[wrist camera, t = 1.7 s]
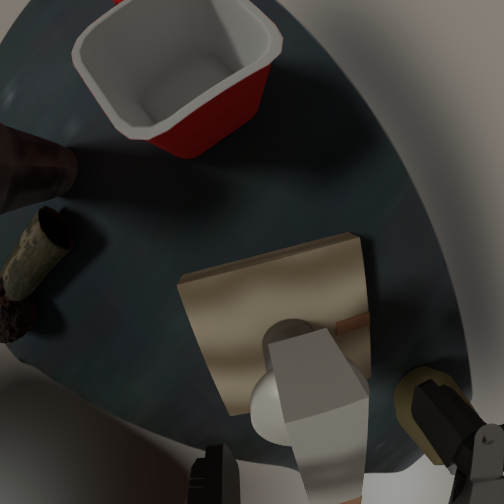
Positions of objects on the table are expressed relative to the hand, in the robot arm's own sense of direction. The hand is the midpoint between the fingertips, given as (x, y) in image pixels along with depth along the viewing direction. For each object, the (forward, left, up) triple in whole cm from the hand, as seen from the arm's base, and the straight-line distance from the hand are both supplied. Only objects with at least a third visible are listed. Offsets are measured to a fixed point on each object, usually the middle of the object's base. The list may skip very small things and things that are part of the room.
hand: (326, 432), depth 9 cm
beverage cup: (-16, -16, -15) cm, 27 cm away
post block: (+3, 0, -15) cm, 15 cm away
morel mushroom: (-7, -24, -15) cm, 29 cm away
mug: (-19, -3, -15) cm, 24 cm away
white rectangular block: (+3, 0, -5) cm, 6 cm away
